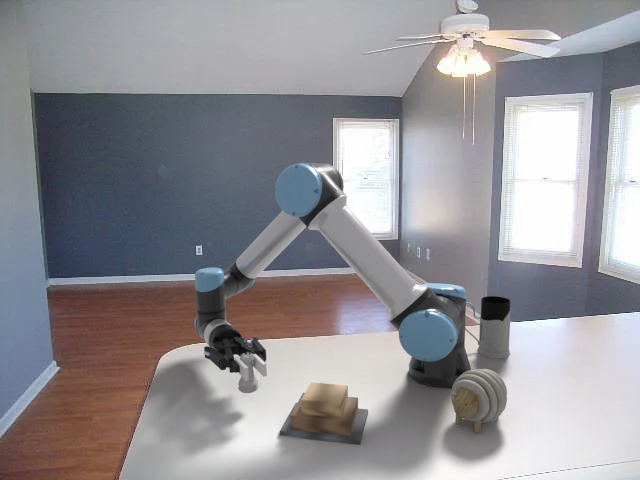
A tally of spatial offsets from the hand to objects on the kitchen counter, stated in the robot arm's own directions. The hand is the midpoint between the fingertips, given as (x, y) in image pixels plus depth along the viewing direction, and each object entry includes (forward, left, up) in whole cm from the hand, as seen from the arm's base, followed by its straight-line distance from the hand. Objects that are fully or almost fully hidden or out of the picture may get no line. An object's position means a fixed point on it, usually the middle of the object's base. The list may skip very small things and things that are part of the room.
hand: (255, 372), depth 107 cm
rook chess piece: (+3, -4, -6) cm, 8 cm away
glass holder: (-50, -47, -10) cm, 69 cm away
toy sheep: (-46, -7, -10) cm, 47 cm away
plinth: (-15, 0, -10) cm, 18 cm away
